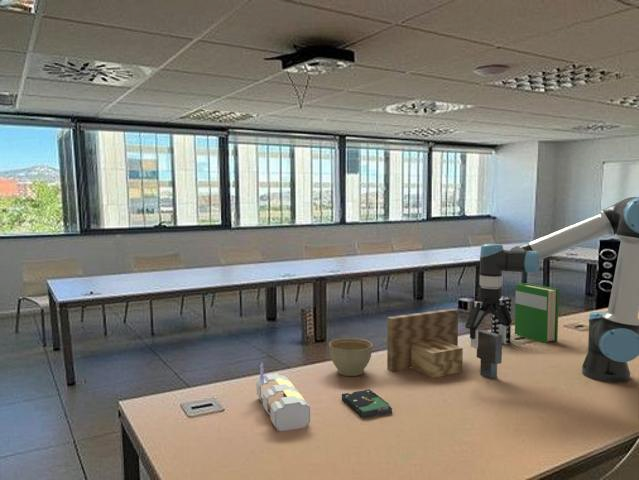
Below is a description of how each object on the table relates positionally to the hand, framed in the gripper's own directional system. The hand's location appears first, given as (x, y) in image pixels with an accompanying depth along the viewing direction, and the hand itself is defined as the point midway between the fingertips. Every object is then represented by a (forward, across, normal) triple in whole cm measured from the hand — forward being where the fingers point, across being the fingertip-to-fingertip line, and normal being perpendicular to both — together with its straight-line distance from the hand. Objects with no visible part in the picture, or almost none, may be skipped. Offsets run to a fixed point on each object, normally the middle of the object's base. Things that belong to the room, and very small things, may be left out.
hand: (488, 345), depth 178 cm
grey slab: (+12, 0, 0) cm, 12 cm away
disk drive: (+13, +53, +2) cm, 55 cm away
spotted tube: (+12, -38, -30) cm, 50 cm away
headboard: (+12, +12, -15) cm, 23 cm away
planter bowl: (+12, +42, -27) cm, 51 cm away
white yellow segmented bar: (+13, +78, -7) cm, 79 cm away
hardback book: (+11, -57, -27) cm, 64 cm away
